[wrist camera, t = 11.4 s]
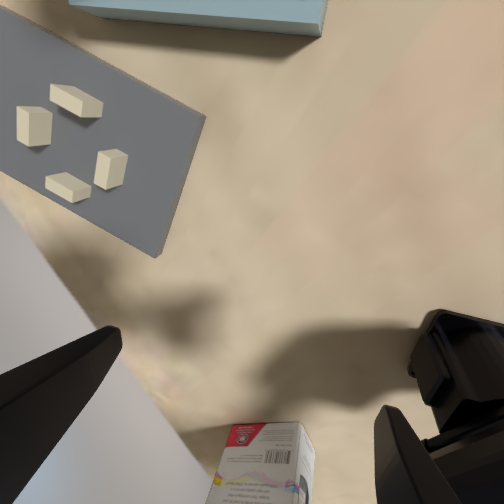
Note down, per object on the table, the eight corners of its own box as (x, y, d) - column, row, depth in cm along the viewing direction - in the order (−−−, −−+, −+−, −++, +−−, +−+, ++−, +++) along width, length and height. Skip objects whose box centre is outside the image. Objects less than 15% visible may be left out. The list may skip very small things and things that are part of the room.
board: (206, 116, 19) (186, 116, 16) (161, 253, 25) (142, 268, 22) (4, 6, 19) (-44, -10, 17) (8, 166, 25) (-27, 172, 23)
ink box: (247, 449, 34) (208, 594, 24) (230, 420, 32) (180, 561, 22) (318, 451, 30) (307, 621, 20) (302, 419, 29) (282, 585, 19)
